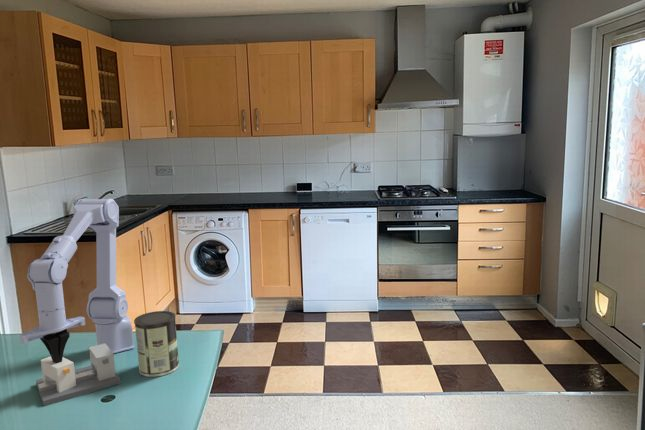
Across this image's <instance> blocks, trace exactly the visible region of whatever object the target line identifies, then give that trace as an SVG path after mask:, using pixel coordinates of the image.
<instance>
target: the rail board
mask: <svg viewBox="0 0 645 430" xmlns="http://www.w3.org/2000/svg"><path fill="white" fill-rule="evenodd" d="M88 349H89V361H90V365H87V366H84V367H81V368H77V369H74V370H75V379H76V386H74V387H72V388H69V389H67V390H65V391H62V392H58V391H57V384H56V381H55V380H52V381H49V382H45V383H43V377H42V378H39V379H36V380H35V384H36V387H37V390H38V393H39V397H40V399H41V402H42V404H43V407H45V406H49V405H53V404H55V403H56V404H57V403H59V402H62V401H65V400H70V399H72V398H77V397H80V396H82V395H87V394H90V393H93V392H97V391H100V390H102V389H103V388H104V389H107V388H111V387H114V386H117V385H116V384H118V385H120V384H121V378H120V377H119V375H118V374H117V373H116V367H115V366H116V365H115V357H114V354H113V353H112V351H111V350H110V349H109V347H108V346H107V345H106V344H105V343H104V344H100V345H97V344H96V345H93V346H90V347H88ZM113 385H114V386H113ZM110 386H111V387H110ZM106 387H107V388H106Z"/></svg>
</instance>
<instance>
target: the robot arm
mask: <svg viewBox="0 0 645 430" xmlns="http://www.w3.org/2000/svg"><path fill="white" fill-rule="evenodd" d="M72 210H73V217H72V218H71V220H70V222H69V223H68V225H67V227H66V229H65V231H64V232H63V234H62V235H57V236H56V237H54V238H53V239H52V241H51V243H50V244H49V246H48V247H47V249H46V250H45V251H44V253H43V254H42V255H41V257H40V258H37V259H35V260H34V261H33V262H31V263H30V264H29V266H28V270H27V274H26V277H27V279H28V282H30V283H31V285H32V286H31V287H32V288H31V289H32V290H33V291H35V298H36V299H35V300H36V307H37V316H38V323H39V324H38V325H39V326H38V327H35V328H33V329H30V330H29V331H26V332H22V333H20V334H18V335H19V342H20V344H22V345H26V344H29V342H32V341H35V340H40V341H41V342H42V344H43V345H44V346H45V348H46V349H47V351H48V353H49V355H50V356H51V358H52V361H53V362H54V363H59V362H62V358H63V357H64V352H65V349H66V345H67V342H68V340H69V338H70V335H71V334H70V332H69V330H70V329H73V328H77V327H82V326H85V325H86V318H85V317H84V316H82V315H81V316H77V317H73V318H72V317H71V318H67V317H66V307H65V299H64V297H65V296H64V290H63V289H64V288H63V281H64V280H65V279H66V276H67V273H68V271H67V270H68V268H69V264H68V263H69V262H70V260H71V259H72V257H73V256H74V255H75V253H76V251H77V250H78V245H77V241H78V240H79V239H80V238H81V236H82V235H83V234H84V233H85V231H86V230H87V229H88V228H91V229H92V230H93V231H94V232H95V233H96V236H95V238H96V242H95V243H96V245H95V246H96V247H95V248H96V288H95V289H93V290H92V291H91V292H90V293H88V301H87V305H86V314H87V315H88V316H87V317H88V318H89V319H91V321H92V323H94V325H95V326H94V327H95V333H96V336H95V337H96V345H100V344H104V343H105V344H106V345H107V346H108V347H109V349H110V350H111V351H112V353H113V355H114V354H118V353H120V352H121V353H122V352H125V351H128V350H129V351H130V350H132V349H135V345H134V336H133V325H132V320H131V318H130V316H129V315H127V314H128V310H129V304H128V300H127V292H126V291H124V289H121V288H120V287H119V286H118V285H117V228H118V227H119V223H120V220H119V219H120V209H119V205H118V204H117V202H116V201H115V199H113V198H96V199H94V198H92V199H90V198H89V199H88V198H86V199H85V198H80V199H78V200H77V201H76V202H75V205H74V206H73V207H72Z"/></svg>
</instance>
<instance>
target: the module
mask: <svg viewBox="0 0 645 430" xmlns="http://www.w3.org/2000/svg"><path fill="white" fill-rule="evenodd" d="M40 365H41V373H42V375H41V376H42V378H43V383H45V382H49V381H52V380H55V381H56V384H57V391H58V392H62V391H65V390H67V389H69V388H72V387H74V386H76V379H75V370H76V369H75V363H74V361H72V360H69V359H68V358H65V357H64V356H63V358H62V362H59V363H54V362H53V361H52V358H51V355H50V356H48V357H45V358H42V359H40Z"/></svg>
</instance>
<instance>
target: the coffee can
mask: <svg viewBox="0 0 645 430" xmlns="http://www.w3.org/2000/svg"><path fill="white" fill-rule="evenodd" d="M133 323H134V329H135V338H136V347H137V348H136V349H137V360H138V361H137V362H138V372H139V374H140V375H141V376H144V377H148V378H157V377H162V376H165V375H166V376H167V375H169V374H172V373H174V372H175V371H176V370H177V369H179V367H180V360H179V350H178V340H177V327H176V326H177V325H176V313H174V312H173V311H169V310H159V311H158V310H157V311H150V312H146V313H143V314H140V315H138V316H137V317H136V318H134V320H133Z"/></svg>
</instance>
